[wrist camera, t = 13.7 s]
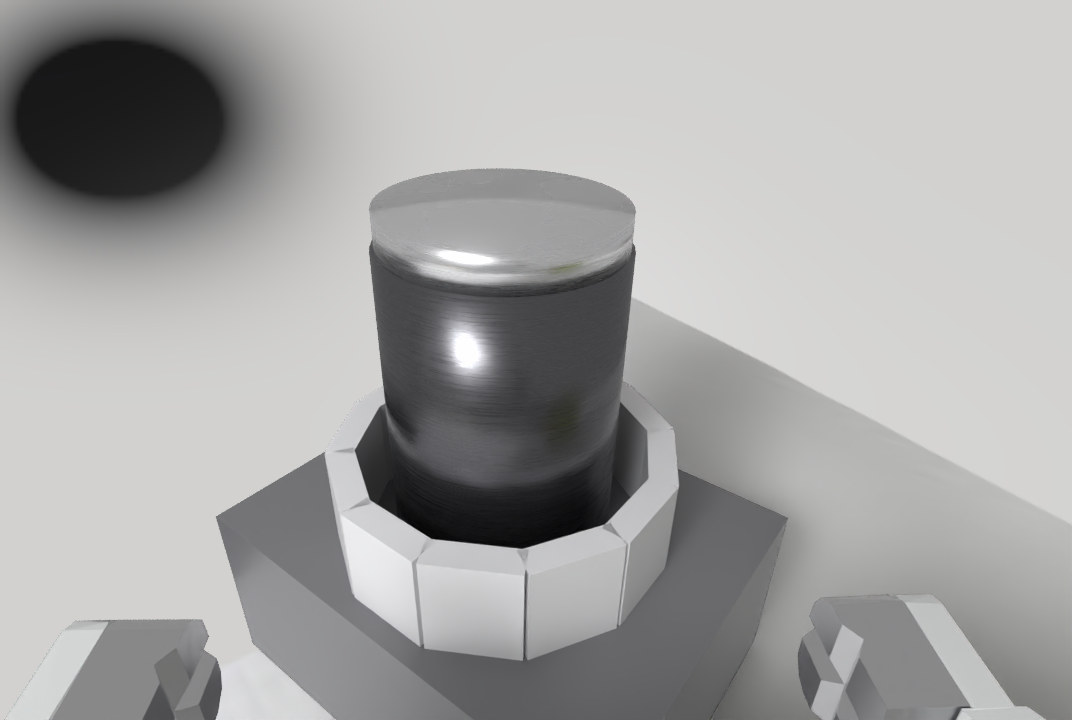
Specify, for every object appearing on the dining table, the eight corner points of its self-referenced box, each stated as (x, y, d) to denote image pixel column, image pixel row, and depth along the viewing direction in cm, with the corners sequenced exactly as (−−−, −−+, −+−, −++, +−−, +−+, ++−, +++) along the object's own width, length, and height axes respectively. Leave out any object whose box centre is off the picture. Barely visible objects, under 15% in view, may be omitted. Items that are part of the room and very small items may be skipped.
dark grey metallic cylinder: (354, 530, 20) (305, 206, 15) (491, 431, 25) (488, 155, 20) (520, 643, 17) (528, 280, 12) (644, 507, 22) (687, 200, 17)
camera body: (253, 643, 24) (193, 438, 19) (464, 482, 32) (456, 307, 27) (583, 945, 17) (612, 733, 12) (753, 642, 24) (809, 441, 20)
